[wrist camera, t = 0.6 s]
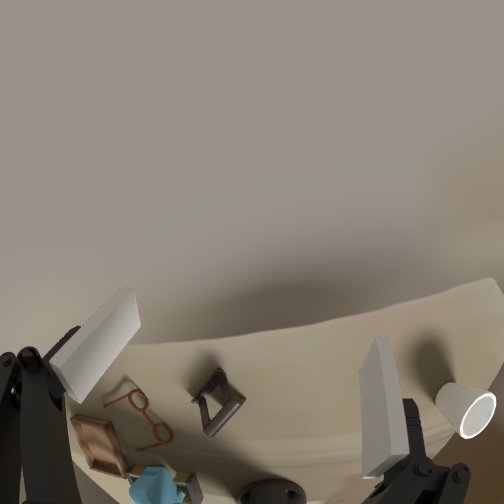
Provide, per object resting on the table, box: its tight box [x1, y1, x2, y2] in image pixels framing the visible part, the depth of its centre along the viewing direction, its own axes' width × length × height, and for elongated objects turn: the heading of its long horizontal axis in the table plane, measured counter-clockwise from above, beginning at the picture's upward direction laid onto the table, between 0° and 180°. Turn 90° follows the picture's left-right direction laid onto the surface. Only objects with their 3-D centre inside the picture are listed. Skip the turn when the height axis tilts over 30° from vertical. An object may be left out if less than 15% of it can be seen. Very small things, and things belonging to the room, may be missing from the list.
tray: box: [70, 414, 129, 479], centre depth 45 cm, size 16×12×3 cm
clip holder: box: [125, 465, 204, 504], centre depth 42 cm, size 9×16×4 cm, turn 98°
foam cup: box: [435, 383, 496, 439], centre depth 35 cm, size 10×9×13 cm
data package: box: [129, 466, 183, 504], centre depth 39 cm, size 12×4×12 cm, turn 16°
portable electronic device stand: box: [191, 368, 246, 437], centre depth 42 cm, size 9×8×8 cm
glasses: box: [103, 389, 173, 451], centre depth 45 cm, size 13×13×5 cm
